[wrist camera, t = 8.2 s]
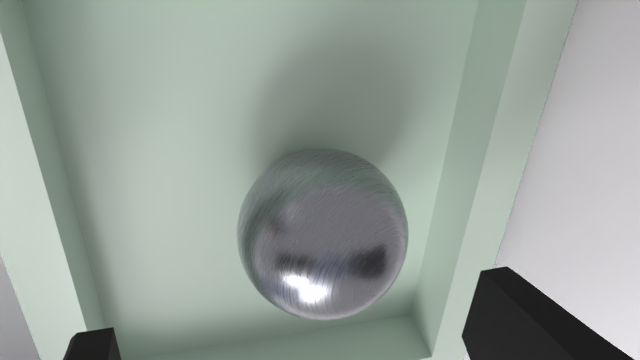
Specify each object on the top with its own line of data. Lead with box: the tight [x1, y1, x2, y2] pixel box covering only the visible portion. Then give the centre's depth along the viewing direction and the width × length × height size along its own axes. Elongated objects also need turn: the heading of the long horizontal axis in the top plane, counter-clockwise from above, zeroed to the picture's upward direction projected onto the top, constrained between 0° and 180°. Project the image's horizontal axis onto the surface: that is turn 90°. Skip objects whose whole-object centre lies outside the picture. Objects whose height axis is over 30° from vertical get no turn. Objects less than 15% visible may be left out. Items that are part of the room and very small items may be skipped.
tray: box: [0, 0, 578, 360], centre depth 14 cm, size 14×12×2 cm
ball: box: [237, 148, 409, 321], centre depth 13 cm, size 4×4×4 cm
